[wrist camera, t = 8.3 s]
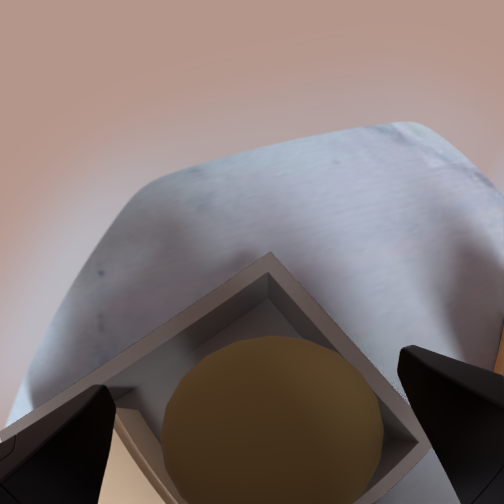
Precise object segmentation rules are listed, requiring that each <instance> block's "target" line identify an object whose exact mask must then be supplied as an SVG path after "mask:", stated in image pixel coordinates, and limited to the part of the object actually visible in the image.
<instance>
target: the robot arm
mask: <svg viewBox="0 0 504 504" xmlns="http://www.w3.org/2000/svg"><path fill="white" fill-rule="evenodd" d="M397 373H398V377H399V379H400V382H401V384H402V386H403V389H404V391H405V393H406V396H407V398H408V400H409V403H410V405H411V408H412V410H413V412H414V414H415V416H416V418H417V420H418V422H419V423H420V425H421V427H422V429H423V431H424V432H425V434H426V436H427V438H428V440H429V442H430V443H431V445H432V447H433V449H434V451H435V453H436V455H437V457H438V459H439V460H440V462H441V464H442V466H443V468H444V470H445V472H446V474H447V476H448V478H449V480H450V482H451V484H452V486H453V488H454V490H455V492H456V494H457V496H458V498H459V501H460V503H461V504H504V376H503V375H501V374H498V373H495V372H492V371H489V370H486V369H483V368H479V367H476V366H473V365H470V364H467V363H464V362H461V361H458V360H456V359H453V358H450V357H447V356H444V355H441V354H438V353H435V352H432V351H429V350H427V349H424V348H421V347H418V346H415V345H410V346H407V347H403V348H402V349H401V351H400V355H399V362H398V368H397ZM115 416H116V405H115V402H114V400H113V398H112V396H111V394H110V392H109V389H108V388H107V386H106V385H103V384H94V385H92V386H90V387H89V388H87V389H86V390H84V391H83V392H81V393H79V394H78V395H76V396H75V397H73V398H72V399H70V400H69V401H67V402H66V403H64V404H62V405H61V406H59V407H58V408H56V409H55V410H53V411H52V412H50V413H48V414H47V415H45V416H44V417H42V418H41V419H39V420H37V421H36V422H34V423H33V424H31V425H29V426H28V427H26V428H25V429H23V430H21V431H20V432H18V433H17V435H16V434H15V435H13V436H12V437H10V438H8V439H7V440H5V441H3V442H2V443H0V504H98V501H99V496H100V492H101V487H102V483H103V478H104V474H105V470H106V466H107V462H108V458H109V453H110V449H111V443H112V436H113V429H114V422H115Z"/></svg>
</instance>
